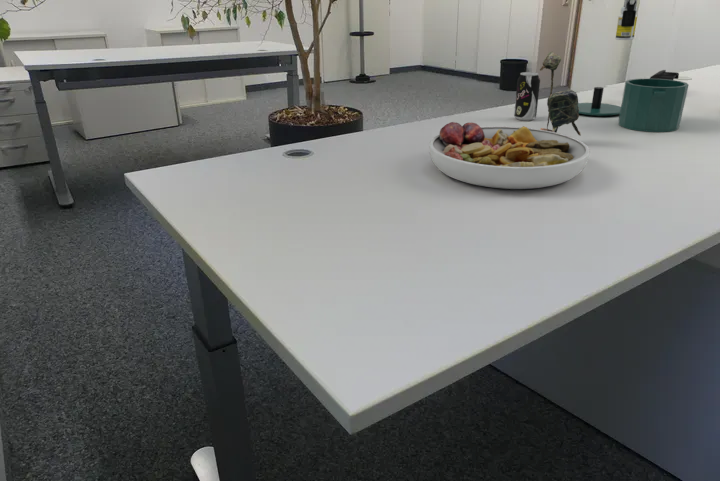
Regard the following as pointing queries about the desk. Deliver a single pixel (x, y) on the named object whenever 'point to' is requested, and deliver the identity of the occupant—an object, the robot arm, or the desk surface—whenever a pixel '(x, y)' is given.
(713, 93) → the desk surface
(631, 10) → the robot arm
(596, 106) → the lid
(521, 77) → the beverage can
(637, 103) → the pot
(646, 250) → the desk surface
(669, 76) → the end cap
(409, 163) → the desk surface
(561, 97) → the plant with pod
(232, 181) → the desk surface
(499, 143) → the bowl
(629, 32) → the supplement bottle
